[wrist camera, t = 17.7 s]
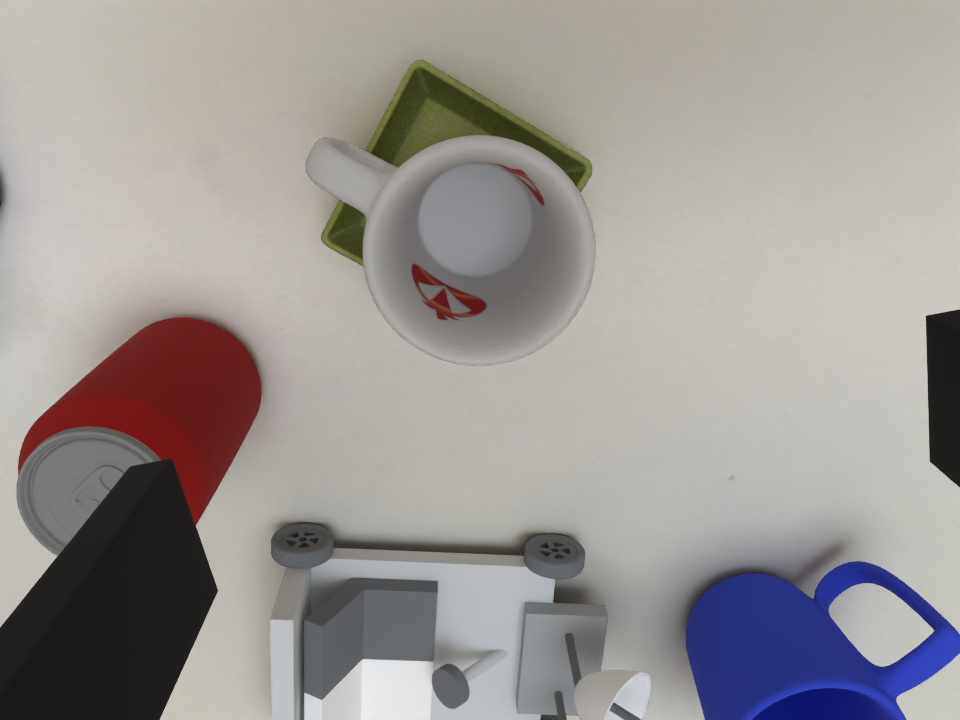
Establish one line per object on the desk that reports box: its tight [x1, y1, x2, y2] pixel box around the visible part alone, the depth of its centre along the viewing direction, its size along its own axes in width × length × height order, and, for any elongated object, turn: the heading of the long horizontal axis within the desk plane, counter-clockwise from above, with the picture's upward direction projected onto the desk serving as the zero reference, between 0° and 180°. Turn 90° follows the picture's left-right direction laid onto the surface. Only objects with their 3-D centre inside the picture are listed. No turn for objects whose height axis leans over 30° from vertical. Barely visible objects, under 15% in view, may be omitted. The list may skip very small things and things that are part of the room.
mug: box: [686, 561, 960, 720], centre depth 42 cm, size 8×12×10 cm
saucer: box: [321, 60, 592, 266], centre depth 38 cm, size 9×9×2 cm
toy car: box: [270, 523, 652, 720], centre depth 42 cm, size 18×10×12 cm
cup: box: [306, 135, 595, 366], centre depth 33 cm, size 11×8×8 cm
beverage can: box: [17, 318, 261, 556], centre depth 36 cm, size 7×7×12 cm
